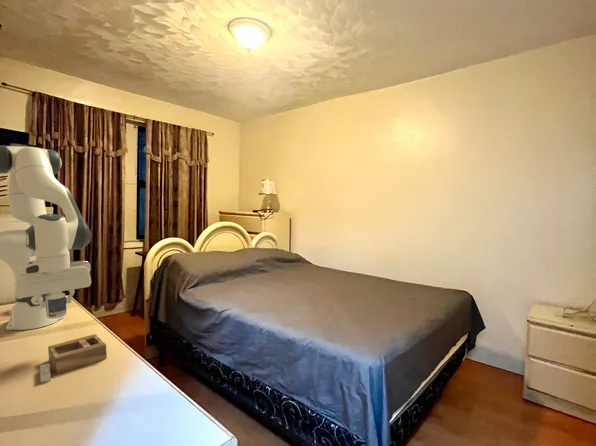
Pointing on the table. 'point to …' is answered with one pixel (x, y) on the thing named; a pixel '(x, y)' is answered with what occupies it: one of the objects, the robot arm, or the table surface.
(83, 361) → the wooden compartment tray
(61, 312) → the pill bottle
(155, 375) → the table surface
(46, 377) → the slim grey peg
